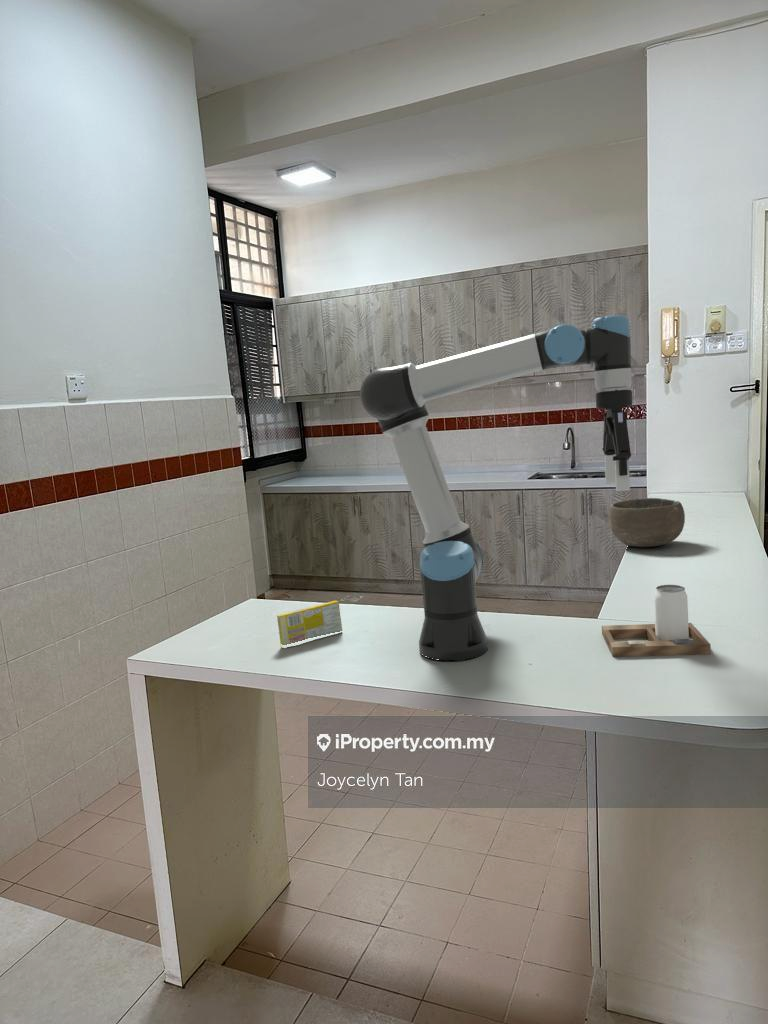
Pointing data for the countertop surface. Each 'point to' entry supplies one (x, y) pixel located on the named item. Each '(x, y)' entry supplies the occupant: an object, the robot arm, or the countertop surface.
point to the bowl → (646, 521)
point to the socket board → (652, 641)
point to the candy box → (309, 622)
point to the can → (671, 612)
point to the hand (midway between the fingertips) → (617, 487)
